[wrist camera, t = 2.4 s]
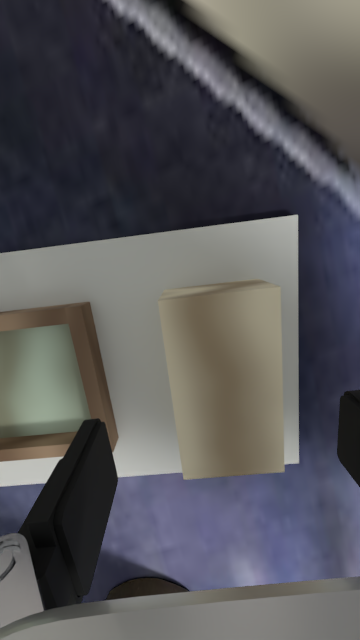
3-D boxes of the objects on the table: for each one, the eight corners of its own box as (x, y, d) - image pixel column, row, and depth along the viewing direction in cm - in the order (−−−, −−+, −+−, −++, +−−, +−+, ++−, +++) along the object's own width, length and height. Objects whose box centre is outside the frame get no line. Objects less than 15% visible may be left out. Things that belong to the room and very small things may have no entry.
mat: (294, 215, 16) (297, 214, 15) (296, 458, 20) (298, 463, 20) (-143, 272, 17) (-152, 273, 17) (-51, 485, 22) (-56, 490, 21)
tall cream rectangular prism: (258, 278, 16) (280, 286, 12) (264, 427, 19) (284, 472, 15) (164, 289, 16) (157, 300, 13) (184, 434, 19) (183, 479, 15)
